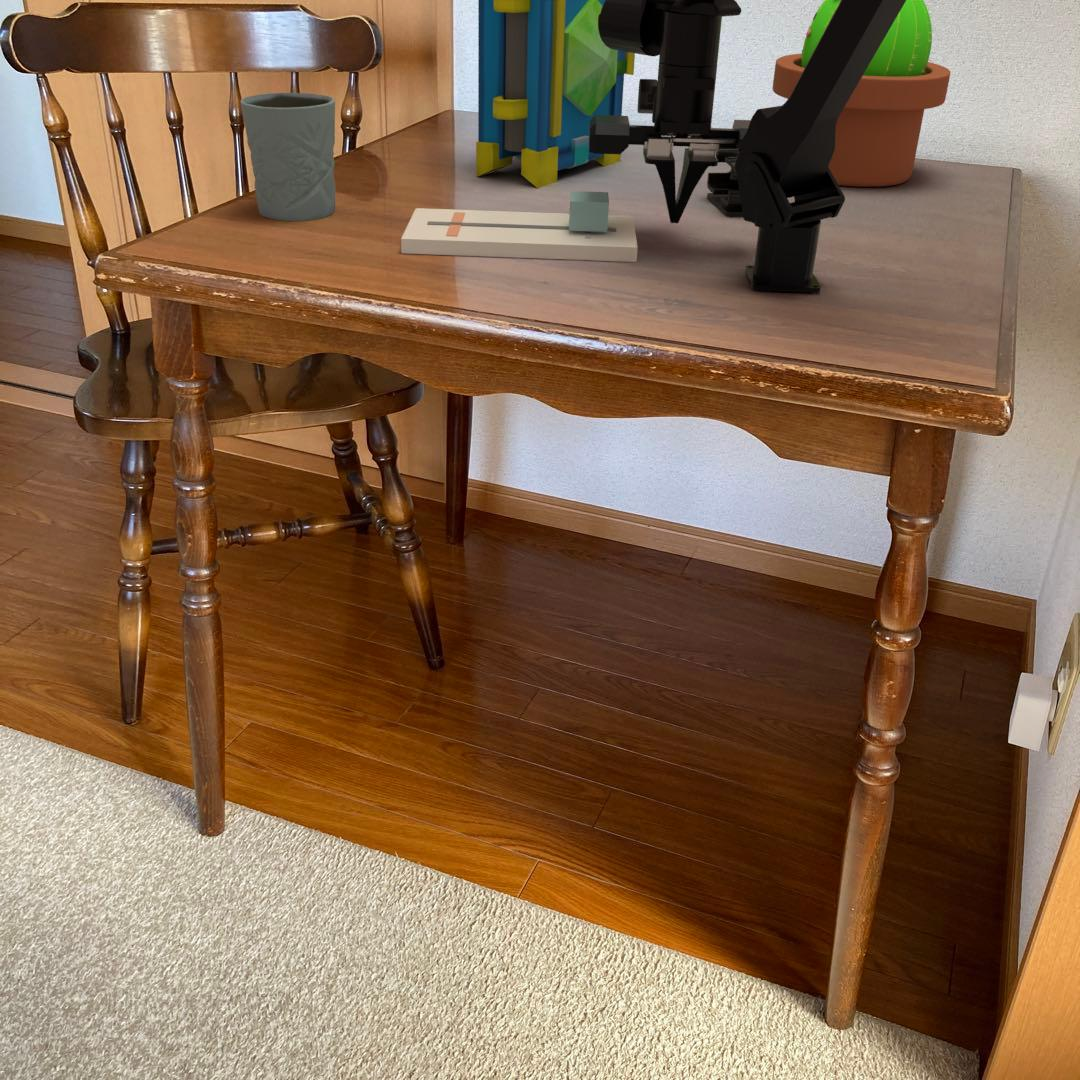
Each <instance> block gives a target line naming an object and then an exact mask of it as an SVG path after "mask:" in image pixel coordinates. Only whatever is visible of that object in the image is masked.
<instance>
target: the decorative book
mask: <svg viewBox="0 0 1080 1080" xmlns="http://www.w3.org/2000/svg"><path fill="white" fill-rule="evenodd" d="M605 1H606V0H478V6H477V7H478V9H477V10H478V20H477V21H478V24H477V25H478V31H477V32H478V40H477V41H478V48H477V49H478V66H477V67H478V79H477V80H478V81H477V82H478V88H477V90H478V92H477V93H478V99H477V100H478V101H477V102H478V104H477V105H478V106H477V107H478V112H477V114H478V127H477V128H478V130H477V132H478V135H477V137H478V139H477V140H478V141H476V142H475V144H476V147H475V153H476V155H475V158H476V164H475V167H476V168H475V171H476V173H475V176H476V177H478V178H479V177H481V176H483V175H487V174H491V173H494V172H497V171H499V170H501V169H504V168H507V167H508V166H511V165H513V157H515V158H516V160H518V161H521V166H520V168H521V169H520V171H521V172H520V175H521V176H522V177H523V178H525V179H526V180H527V181H528V182H530V184H532V185H533V186H535V187H536V188H537V189H540V187H541V188H543V187H547V186H549V185H553V184H556V183H558V171H561V170H564V169H566V170H570V169H573V168H576V167H579V166H582V165H584V164H587V163H588V162H589V161H592V160H595V161H596V162H598V164H600V165H601V166H602V167H607V166H610V165H612V164H616V163H618V162H619V163H620V162H621V156H622V153H621V154H595V153H591V152H589V126H590V120H591V119H592V118H593V117H594V116H595V115H615V116H623V115H622V114H623V101H624V99H623V98H624V83H625V81H624V80H625V75H631V76H634V73H635V56H636V53H631V52H625V51H619V50H614V49H610V48H609V47H607V46H606V45H605V44H604V43H603V41H602V39H601V37H600V34H599V30H598V16H599V14H600V13H601V10H602V7H603V5H604V2H605ZM555 182H556V183H555ZM552 183H553V184H552ZM546 185H547V186H546Z"/></svg>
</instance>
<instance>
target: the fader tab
mask: <svg viewBox="0 0 1080 1080" xmlns="http://www.w3.org/2000/svg"><path fill="white" fill-rule="evenodd" d="M569 192H570V195H569V197H570V198H569V214H570V215H569V231H593V232H607V230H608V215H609V212H610V211H609V209H610V198H609V197H610V196H609V192H606V191H583V190H582V191H581V190H580V191H579V190H570V191H569Z"/></svg>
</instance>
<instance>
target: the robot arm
mask: <svg viewBox="0 0 1080 1080" xmlns="http://www.w3.org/2000/svg"><path fill="white" fill-rule="evenodd" d="M905 2H906V0H841V1H840V3H839V5H838V7H837V9H836V11H835V12H834V14H833V16H832V18H831V20H830V22H829V24H828V26H827V27H826V29H825V31H824V33H823V35H822V37H821V39H820V41H819V42H818V44H817V46H816V48H815V50H814V52H813V54H812V56H811V57H810V59H809V61H808V63H807V65H806V67H805V69H804V70H803V72H802V74H801V76H800V78H799V80H798V82H797V84H796V85H795V87H794V89H793V91H792V93H791V95H790V97H789V98H788V99H786V101H785V102H784V103H783V104H782V105H777V106H770V107H765V108H758V109H757V110H756V111H755V112H754V114H753V115H752V116H751V118H750V119H734V120H733V123H732V128H724V127H723V128H722V127H721V128H719V127H712V121H713V109H714V101H715V92H716V91H715V90H716V80H717V69H718V60H719V53H720V48H719V47H720V41H721V30H722V23H723V21H722V20H723V17H735V16H740V15H741V14H742V8H741V6H740V5H739V4H738V2H737V1H736V0H606V1H605V2H604V5H603V7H602V10H601V13H600V14H599V16H598V30H599V34H600V37H601V39H602V41H603V43H604V44H605V45H606V46H607V47H609V48H610V49H614V50H619V51H625V52H631V53H635V55H642V56H648V57H657V56H658V70H657V71H658V72H657V79H655V78H649V79H648V78H640V79H639V81H638V95H637V113H638V114H649V115H650V114H651V115H652V116H651V122H652V124H653V125H641V124H640V125H639V124H638V125H637V124H636V125H634V124H630V119H629V116H628V115H622V116H615V115H595V116H594V117H593V118H592V119H591V120H590V126H589V152H591V153H595V154H621V155H622V153H623V152H625V151H626V150H627V149H628V148H629V145H631V146H636V145H637V146H643V148H642V149H643V150H642V151H643V152H642V155H643V159H644V162H645V164H648V165H654V167H655V168H656V170H657V173H658V176H659V179H660V182H661V184H662V189H663V193H664V198H665V203H666V209H667V213H668V218H669V221H670V224H679V222H680V220H681V218H682V216H683V214H684V212H685V210H686V207H687V205H688V202H689V201H690V199H691V196H692V195H693V192H694V190H695V188H696V187H697V185H698V184H699V182H700V181H701V179H702V177H703V176H704V174H705V172H706V171H707V169H708V168H710V167H718V165H719V162H718V159H717V157H716V152H718V150H719V148H737V149H738V151H739V153H738V156H737V158H736V161H735V168H734V170H735V172H736V173H737V180H738V185H739V192H740V199H741V205H742V212H743V217H742V218H743V220H744V221H746V222H749V223H752V224H753V225H754V226H755V227H757V228H758V231H757V232H758V233H757V239H756V247H755V255H754V261H753V262H754V263H753V265H745V268H744V272H745V274H746V277H747V280H748V282H749V284H750V286H751V289H752V290H754V291H770V292H771V291H772V292H773V291H774V292H795V293H796V292H800V293H801V292H802V293H820V292H821V289H822V287H821V285H820V283H819V281H818V279H817V277H816V276H815V274H814V268H815V262H816V256H817V249H818V243H819V236H820V230H821V223H822V221H821V220H825V219H829V218H831V219H833V218H836V217H838V216H839V213H840V211H841V209H842V207H843V205H844V203H845V201H846V197H845V194H844V192H843V191H842V189H841V187H840V185H838V184H837V182H836V180H835V178H834V176H833V174H832V173H831V171H830V169H829V167H828V166H829V163H830V161H831V158H832V156H833V153H834V150H835V135H836V122H837V120H838V118H839V116H840V114H841V112H842V110H843V109H844V107H845V105H846V104H847V102H848V100H849V98H850V97H851V95H852V93H853V91H854V90H855V88H856V86H857V85H858V83H859V81H860V79H861V78H862V76H863V74H864V72H865V71H866V69H867V67H868V66H869V64H870V62H871V60H872V59H873V57H874V55H875V53H876V52H877V50H878V48H879V47H880V45H881V43H882V41H883V40H884V38H885V36H886V34H887V33H888V31H889V29H890V28H891V26H892V24H893V22H894V21H895V19H896V17H897V15H898V14H899V12H900V10H901V9H902V7H903V5H904V3H905ZM674 147H685V148H684V152H683V153H684V154H683V162H682V168H681V173H680V174H681V175H680V179H679V182H678V183H679V184H678V187H677V188H678V189H677V193H676V160H675V156H674V153H673V149H674ZM789 198H794V200H793V202H792V201H791V202H790V201H789Z"/></svg>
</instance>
